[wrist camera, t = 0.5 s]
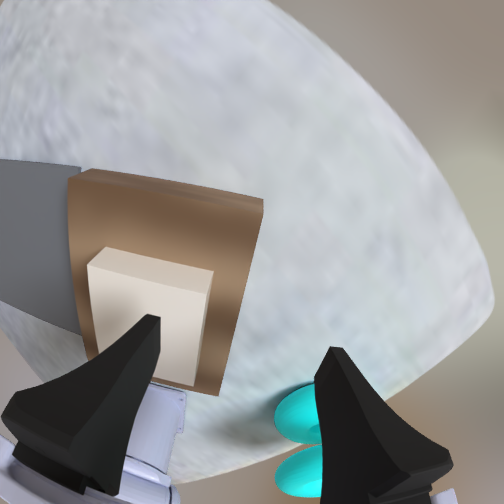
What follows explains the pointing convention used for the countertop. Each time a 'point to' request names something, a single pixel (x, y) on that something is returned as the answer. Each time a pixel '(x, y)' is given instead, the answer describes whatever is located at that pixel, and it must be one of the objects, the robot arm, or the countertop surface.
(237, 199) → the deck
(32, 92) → the countertop surface
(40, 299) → the mat
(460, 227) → the countertop surface
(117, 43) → the countertop surface
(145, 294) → the tile
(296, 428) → the donuts
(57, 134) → the countertop surface
